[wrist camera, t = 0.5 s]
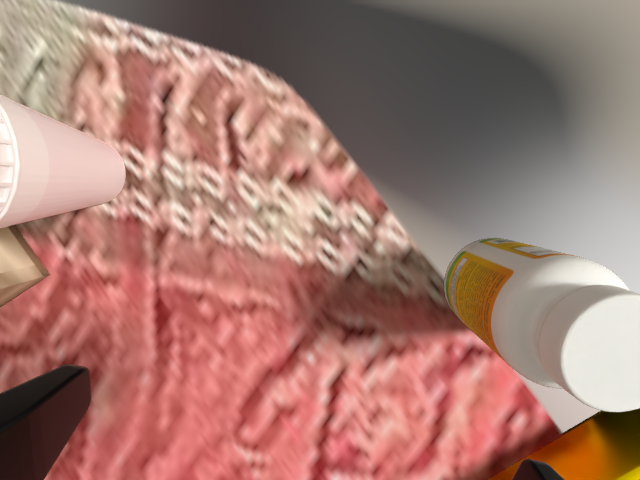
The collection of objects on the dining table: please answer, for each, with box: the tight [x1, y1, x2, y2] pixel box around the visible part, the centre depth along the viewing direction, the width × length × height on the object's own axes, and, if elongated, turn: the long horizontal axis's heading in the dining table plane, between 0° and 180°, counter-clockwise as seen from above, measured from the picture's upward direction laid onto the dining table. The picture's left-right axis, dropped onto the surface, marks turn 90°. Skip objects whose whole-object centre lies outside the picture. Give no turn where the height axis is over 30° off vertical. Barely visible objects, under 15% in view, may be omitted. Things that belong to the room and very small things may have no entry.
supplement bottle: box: [444, 238, 640, 412], centre depth 16 cm, size 5×5×10 cm
